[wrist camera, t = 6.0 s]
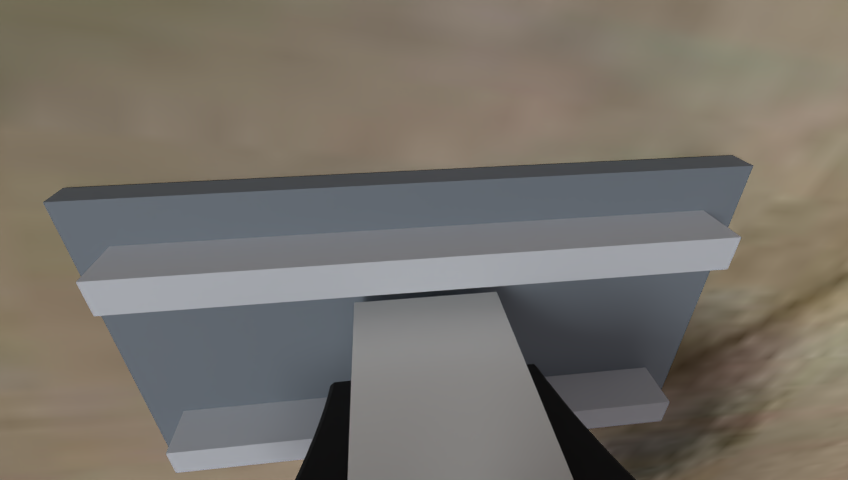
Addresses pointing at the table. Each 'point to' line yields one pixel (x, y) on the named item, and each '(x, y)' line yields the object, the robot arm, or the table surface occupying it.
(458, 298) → the block
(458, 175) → the rail dock
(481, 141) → the table surface
